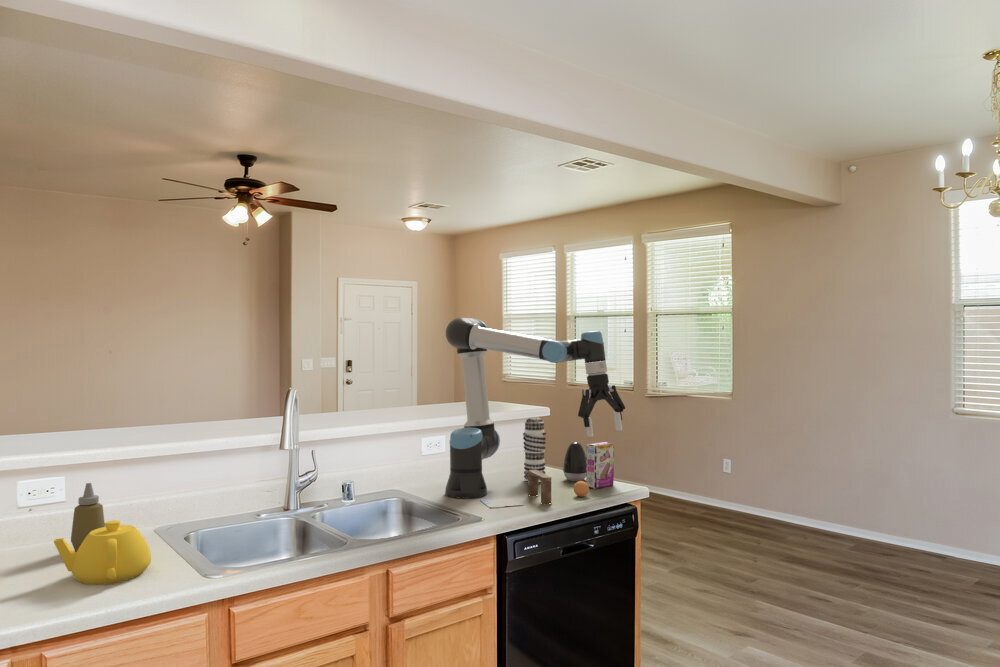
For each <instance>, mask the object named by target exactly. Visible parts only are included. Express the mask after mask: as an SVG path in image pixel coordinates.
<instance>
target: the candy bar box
mask: <svg viewBox="0 0 1000 667" xmlns="http://www.w3.org/2000/svg"><path fill="white" fill-rule="evenodd" d="M614 450H615V443H614V442H606V441H603V442H595V443H587V444H586V458H587V466H586V478H585V480H586V481H585V482H586V483H587V484H588V486H589V489H594V490H598V489H602V488H606V487H610V486H614V480H615V479H614V478H615V477H614V476H615V475H614V474H615V473H614V472H615V471H614V466H615V465H614V464H615V462H614V461H615V453H614V452H615V451H614Z"/></svg>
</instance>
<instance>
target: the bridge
mask: <svg viewBox="0 0 1000 667" xmlns="http://www.w3.org/2000/svg"><path fill="white" fill-rule="evenodd" d="M538 479H540V480H541V483H540V504H541V503H542V504H549V503H551V504H552V477H551V476H549V475H548V474H546V473H545V474H544V473H542V472H540V471H538V470H528V482H527V483H528V488H527V489H528V492H527V494H528V495H530V496H536V495H538V496H539V483H538ZM530 496H529V497H530ZM536 497H537V496H536ZM542 504H541V505H542Z"/></svg>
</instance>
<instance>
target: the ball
mask: <svg viewBox="0 0 1000 667" xmlns="http://www.w3.org/2000/svg"><path fill="white" fill-rule="evenodd" d="M589 491H590V488H589V486H588V484H587V483H586V481H583V480H582V481H576V482H575V483H574V485H573V492H574V494H575V495H576V496H577V497H581V498H582V497H586V496H587V495H588V493H589Z"/></svg>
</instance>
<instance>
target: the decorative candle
mask: <svg viewBox="0 0 1000 667" xmlns="http://www.w3.org/2000/svg"><path fill="white" fill-rule="evenodd" d="M544 423H545V421H544V420H543V418H541V417H538V416H537V417H534V416H533V417H527V418H526V420H525V421H524V432H523V433H522V434H523V449H524V450H523V452H524V457H525V458H524V464H523V465H524V467H523V469H524V472H523V474H524V475H523V478H524V479H523V481H524V480H525V481H528V470H538V471H540V472H542V473H544V474H546V471H545V470H546V467H545V466H546V463H545V452H546V447H545V444H546V437H545V436H546V435H547V433H546V432H545V424H544ZM525 481H524V482H525ZM538 482H541V480H540V479H538Z"/></svg>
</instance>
